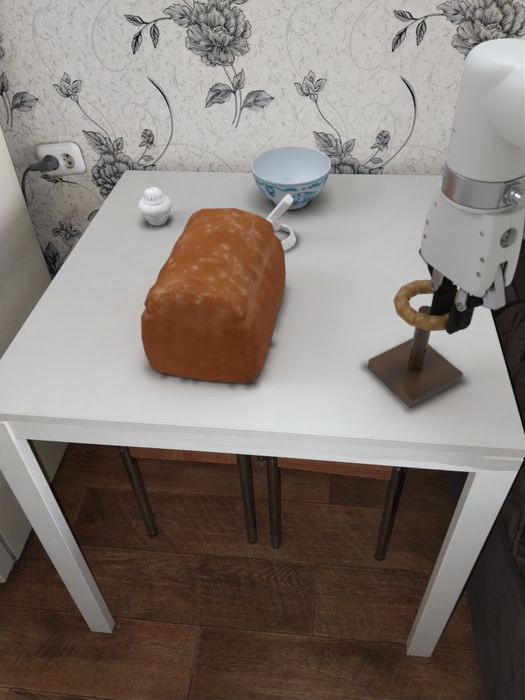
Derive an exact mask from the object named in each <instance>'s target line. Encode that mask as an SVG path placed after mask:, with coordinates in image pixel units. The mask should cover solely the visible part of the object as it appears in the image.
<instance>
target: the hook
mask: <svg viewBox="0 0 525 700" xmlns="http://www.w3.org/2000/svg"><path fill="white" fill-rule="evenodd" d="M292 202H293V198H292V197H291V195H290V194H287V195H286V196H285V197H284V198H283V199H282V201H281V202H280V203H279V204H278V205H275V207H274V208H273V210H272V211H271V212H270V213H269V214H268V216H267V217H266V219H267V220H268V221H270V222H271V223H272V226H273V229H274V232H278V231H283V232H286V233H289V235H288V237H287V238H286V239H283V240H280V241H281V243H282V247H283V250H284V252H286V251H289V250H290V249H293V247H294V246H295V245H296V242H297V237H296V234H295V232H294V231H293V229H292V228H291V227H290V226H289V225H287V224H284V223H281V222H280V218H281V217H282V216H283V215H284V213H285V212H286V211H287V210H289V209H288V208H289V206H290V205H291V204H292Z"/></svg>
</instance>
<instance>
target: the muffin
mask: <svg viewBox="0 0 525 700" xmlns="http://www.w3.org/2000/svg"><path fill="white" fill-rule="evenodd" d="M172 204H173V203H172V201H171V199H170V198H169V197H168V196H167V195H166V194H164V192H163V191H162V189H161V188H159V187H156V186H155V187H154V186H152V187H148V188H147V189H145V190H144V191H143V195H142V198H141V199H140V201H139V202H138V205H137V207H138V210H139V212H140V213H141V215H142V216H143V218H144V219H145V220H146V222H148V223H149V224H150V225H151V226H155V227H158V226H163V225H164V224H166V223H167V221H168V219H169V216H170V213H171V211H172V210H171V209H172V207H173V205H172Z"/></svg>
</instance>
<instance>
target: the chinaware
mask: <svg viewBox="0 0 525 700" xmlns="http://www.w3.org/2000/svg"><path fill="white" fill-rule="evenodd" d="M250 169H251V174H252V177H253V179H254V182H255V184H256V186H257V187H258V190H260V192H261V193H262V194H263V195H264V196H265V197H266V198H268V199H269V200H271V201H273V202H274V204H275V206H277V205H278V204H279V203H280V202H281V201H282V199H283V198H284V197H285V196H286V195H287V194H290V195H291V197H292V198H293V202H292V204H291V205H290V206H289V208H288V209H287V210H296V209H300V208H303V207H304V206H306V205H307V204H308V202H309V201H310V200H312V199H313V198H315V197H316V196H317V195H318V194H320V192H321V191H322V189H323V188H324V187H325V185H326V183H327V181H328V179H329V175H330V172H331V169H332V162H331V159H330V158H329V156H328V155H326V154H325V153H323V152H322V151H320V150H318V149H315V148H312V147H307V146H299V145H284V146H277V147H273V148H270V149H266V150H265V151H261V152H260V153H259V154H257V155H256V156H254V158H253V159H252V161H251V163H250Z"/></svg>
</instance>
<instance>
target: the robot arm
mask: <svg viewBox="0 0 525 700" xmlns="http://www.w3.org/2000/svg"><path fill="white" fill-rule="evenodd" d="M462 66H463V67H462V71H461V76H460V81H459V86H458V93H457V97H456V102H455V109H454V114H453V118H452V124H451V129H450V130H451V131H450V136H449V141H448V146H447V151H446V158H445V163H444V167H443V173H442V179H441V180H440V181H439V182H438V184H437V186H436V189H435V191H434V193H433V196H432V198H431V201H430V204H429V207H428V210H427V213H426V218H425V222H424V225H423V230H422V236H421V241H420V248H419V249H418V255H419V256H420V258H421V259H422V260H423V262H424V263H425V265H427V266H426V267H427V270H428V273H429V275H430V278H431V279H430V280H431V283H430V286H431V289H432V290H433V291H434V294H432V299H431V304H430V307H431V308H430V313H429V315H430V316H437V315H445V314H447V313H449V312H450V313H449V317H448V322H447V326H446V330H445V333H447V334H448V335H453V334H455V333H458V332H459V331H463V330H467V328H469V326H470V325H471V323H472V320H473V315H474V312H475V308H478V307H483V308H485V309H488V310H493V311H496V310H498V309H500V308H502V307H504V306H505V305H506V295H505V288H506V287H508V286H509V285H510V284H511V283H512V282H513V279H514V276H515V273H516V268H517V265H518V261H519V257H520V252H521V248H522V242H523V236H524V228H525V189H524V188H523V187H524V183H525V38H524V39H523V38H515V37H513V38H511V37H509V38H507V37H506V38H505V37H504V38H494V39H490V40H486V41H483V42H481V43H479V44H476V45H475V46H474V47H473V48H471V50H470V51H469V52H468V54H467V56H466V57H465V60H464V62H463V65H462ZM458 287H459V288H458ZM457 289H458V290H459V292H458V297H457V302H456V305H454V302H455V298H456V294H457Z"/></svg>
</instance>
